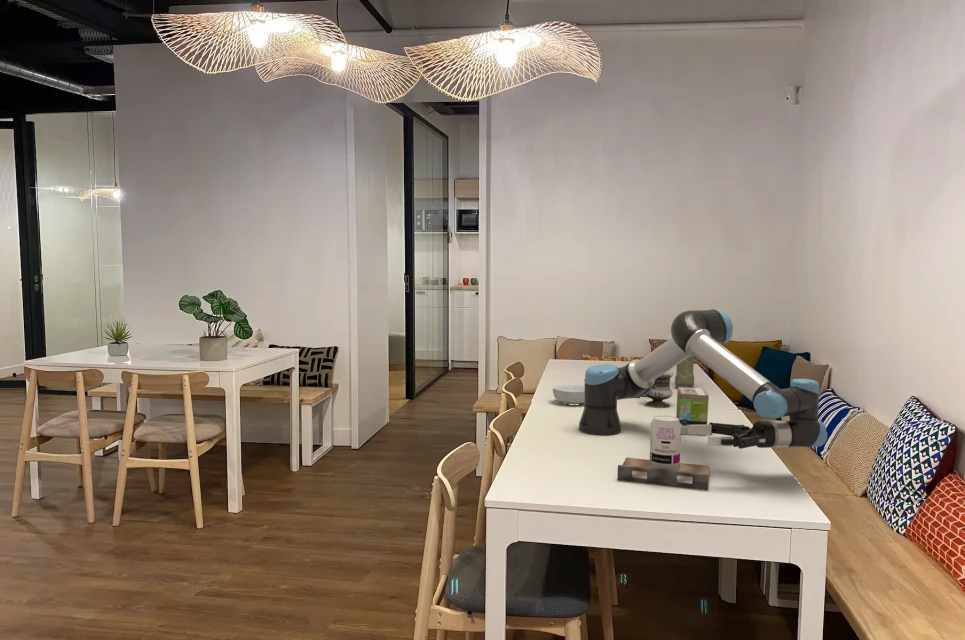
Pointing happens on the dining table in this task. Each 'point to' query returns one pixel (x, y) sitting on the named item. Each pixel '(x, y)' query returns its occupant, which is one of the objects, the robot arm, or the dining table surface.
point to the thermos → (685, 373)
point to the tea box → (692, 408)
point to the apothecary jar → (660, 390)
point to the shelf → (664, 474)
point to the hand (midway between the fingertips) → (698, 435)
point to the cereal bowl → (569, 393)
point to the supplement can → (665, 443)
